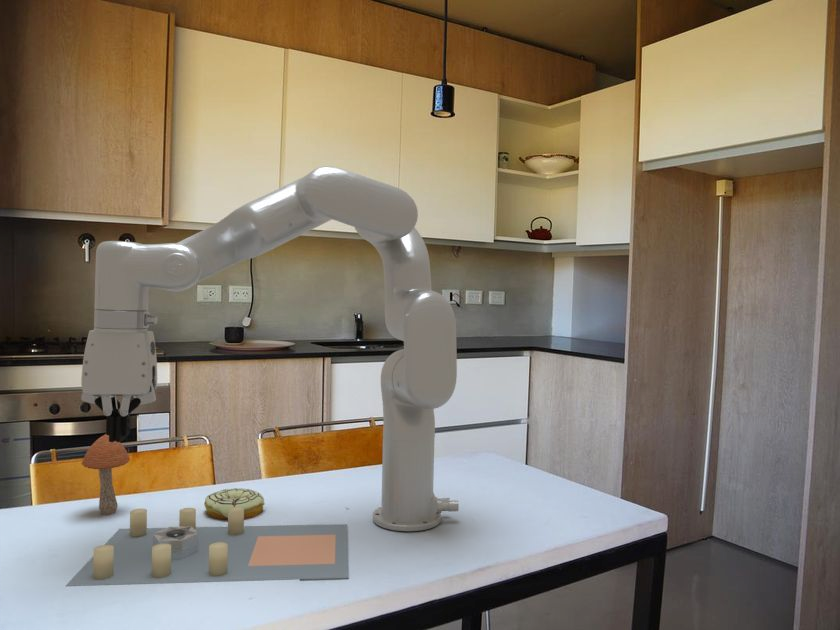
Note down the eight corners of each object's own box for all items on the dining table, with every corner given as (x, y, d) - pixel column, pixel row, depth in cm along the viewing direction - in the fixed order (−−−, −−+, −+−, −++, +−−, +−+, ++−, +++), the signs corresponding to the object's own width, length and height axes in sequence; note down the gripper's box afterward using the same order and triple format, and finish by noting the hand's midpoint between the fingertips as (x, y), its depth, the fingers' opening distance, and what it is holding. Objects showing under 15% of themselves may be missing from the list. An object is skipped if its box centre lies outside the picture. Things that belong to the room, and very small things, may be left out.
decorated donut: (230, 528, 114) (230, 506, 114) (192, 514, 120) (192, 494, 120) (274, 512, 122) (275, 492, 122) (237, 500, 129) (238, 482, 128)
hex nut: (202, 544, 105) (202, 525, 105) (193, 559, 99) (194, 539, 99) (157, 545, 104) (158, 526, 104) (146, 560, 98) (146, 540, 98)
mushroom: (81, 524, 113) (81, 439, 113) (81, 510, 120) (81, 430, 120) (130, 518, 117) (131, 436, 116) (128, 505, 124) (128, 427, 123)
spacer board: (347, 525, 116) (347, 502, 116) (348, 578, 94) (348, 550, 94) (119, 529, 111) (119, 505, 111) (65, 587, 89) (65, 557, 89)
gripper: (177, 322, 104) (174, 435, 105) (79, 319, 102) (76, 434, 103) (165, 324, 97) (161, 446, 97) (59, 321, 95) (56, 445, 95)
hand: (117, 439), depth 100 cm, fingers closed
